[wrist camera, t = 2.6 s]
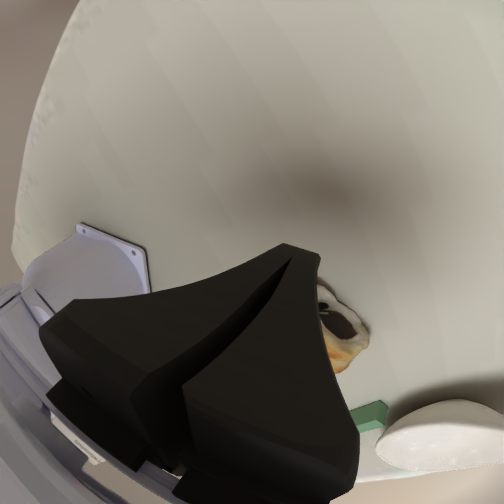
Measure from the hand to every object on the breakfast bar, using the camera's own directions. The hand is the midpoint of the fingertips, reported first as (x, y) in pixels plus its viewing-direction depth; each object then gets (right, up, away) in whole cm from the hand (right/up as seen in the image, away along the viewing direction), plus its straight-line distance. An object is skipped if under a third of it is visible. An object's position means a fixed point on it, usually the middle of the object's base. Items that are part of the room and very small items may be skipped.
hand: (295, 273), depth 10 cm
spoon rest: (+19, -11, +6) cm, 23 cm away
